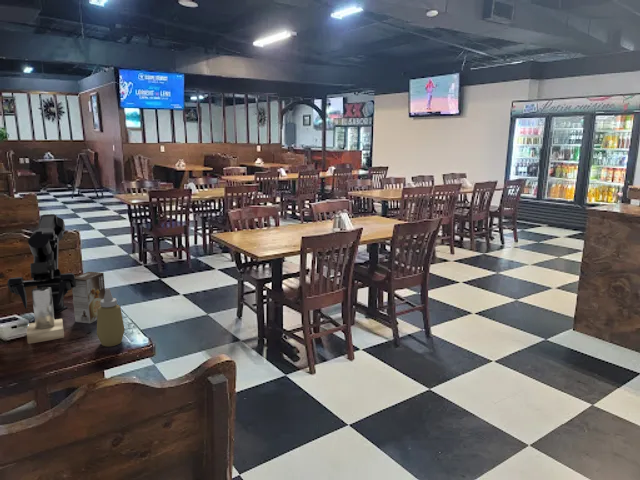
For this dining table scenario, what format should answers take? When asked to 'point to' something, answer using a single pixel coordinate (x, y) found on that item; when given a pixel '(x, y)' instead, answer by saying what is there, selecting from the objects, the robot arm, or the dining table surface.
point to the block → (45, 332)
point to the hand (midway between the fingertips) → (42, 306)
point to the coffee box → (88, 296)
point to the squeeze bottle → (109, 321)
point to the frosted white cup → (43, 307)
